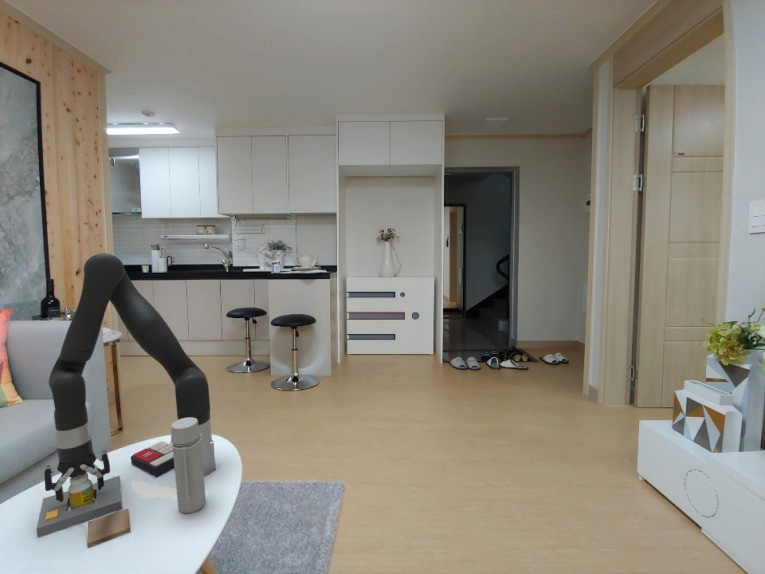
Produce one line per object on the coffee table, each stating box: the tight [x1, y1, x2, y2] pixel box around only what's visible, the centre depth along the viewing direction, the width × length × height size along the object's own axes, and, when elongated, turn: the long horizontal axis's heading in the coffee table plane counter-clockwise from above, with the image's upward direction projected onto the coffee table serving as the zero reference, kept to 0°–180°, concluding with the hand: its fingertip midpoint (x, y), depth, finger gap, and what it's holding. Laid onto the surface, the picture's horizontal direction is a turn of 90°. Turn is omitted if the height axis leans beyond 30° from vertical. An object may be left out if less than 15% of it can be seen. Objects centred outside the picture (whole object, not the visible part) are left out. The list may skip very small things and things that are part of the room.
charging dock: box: [36, 475, 123, 538], centre depth 111 cm, size 18×14×3 cm
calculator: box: [130, 440, 175, 478], centre depth 133 cm, size 11×4×15 cm
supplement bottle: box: [67, 472, 95, 510], centre depth 111 cm, size 5×5×10 cm
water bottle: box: [169, 417, 207, 514], centre depth 109 cm, size 9×8×25 cm
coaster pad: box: [86, 507, 132, 549], centre depth 104 cm, size 9×9×1 cm
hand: (81, 494), depth 111 cm, fingers open, 8 cm apart
